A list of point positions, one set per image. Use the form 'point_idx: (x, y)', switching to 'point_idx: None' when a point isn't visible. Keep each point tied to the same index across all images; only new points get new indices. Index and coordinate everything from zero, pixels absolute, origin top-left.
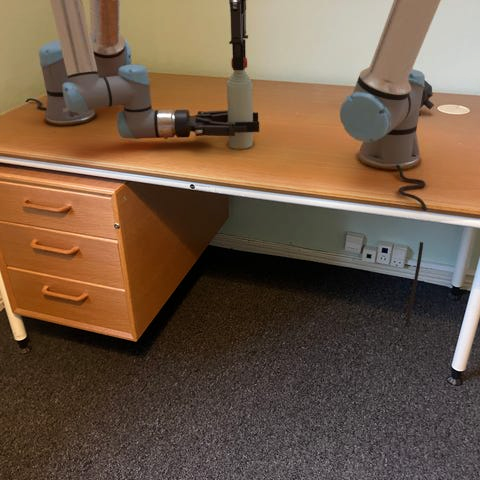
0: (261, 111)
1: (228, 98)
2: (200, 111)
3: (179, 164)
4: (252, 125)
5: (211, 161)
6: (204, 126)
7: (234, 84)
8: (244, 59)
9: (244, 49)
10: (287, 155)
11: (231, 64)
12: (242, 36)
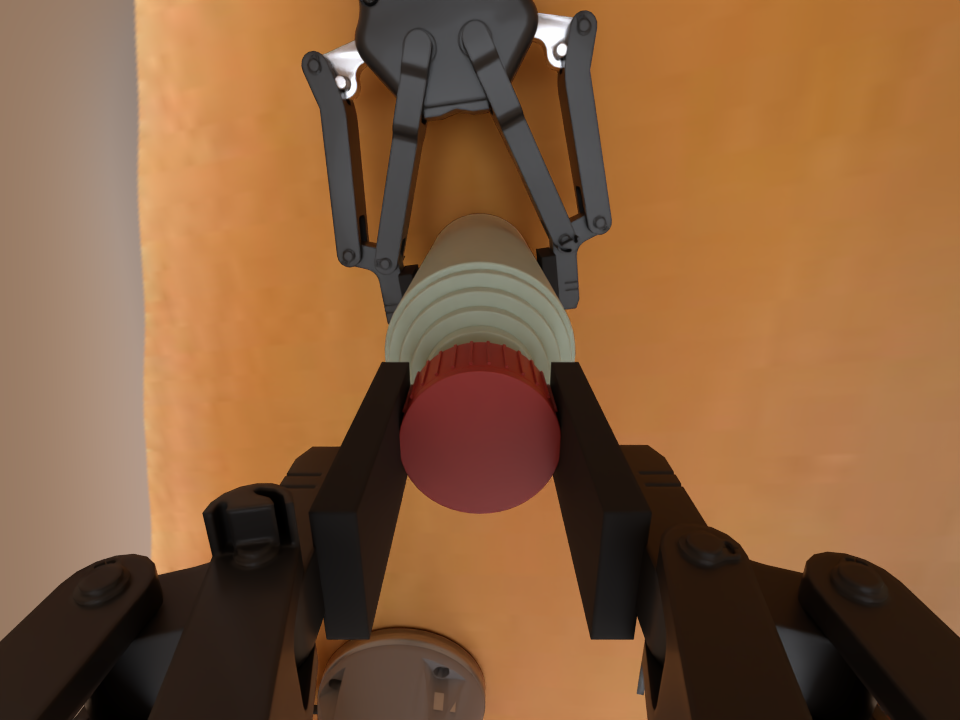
0: (897, 314)
1: (435, 258)
2: (581, 31)
3: (218, 14)
4: None
5: (282, 164)
6: (327, 111)
7: (391, 334)
8: (451, 496)
9: (570, 538)
10: None
11: (468, 349)
12: (646, 642)
